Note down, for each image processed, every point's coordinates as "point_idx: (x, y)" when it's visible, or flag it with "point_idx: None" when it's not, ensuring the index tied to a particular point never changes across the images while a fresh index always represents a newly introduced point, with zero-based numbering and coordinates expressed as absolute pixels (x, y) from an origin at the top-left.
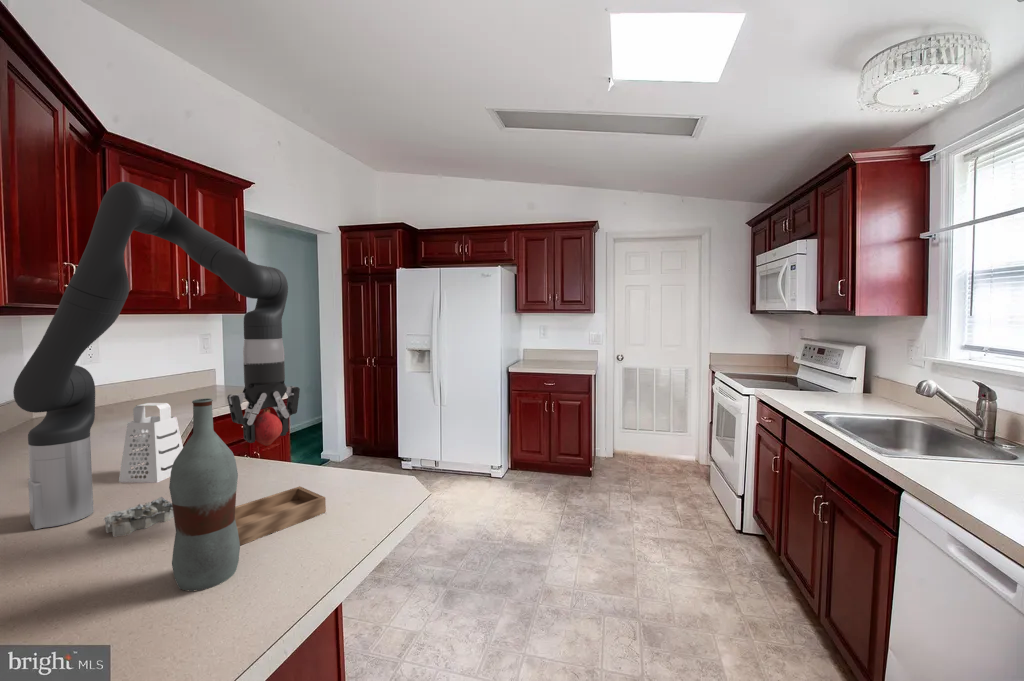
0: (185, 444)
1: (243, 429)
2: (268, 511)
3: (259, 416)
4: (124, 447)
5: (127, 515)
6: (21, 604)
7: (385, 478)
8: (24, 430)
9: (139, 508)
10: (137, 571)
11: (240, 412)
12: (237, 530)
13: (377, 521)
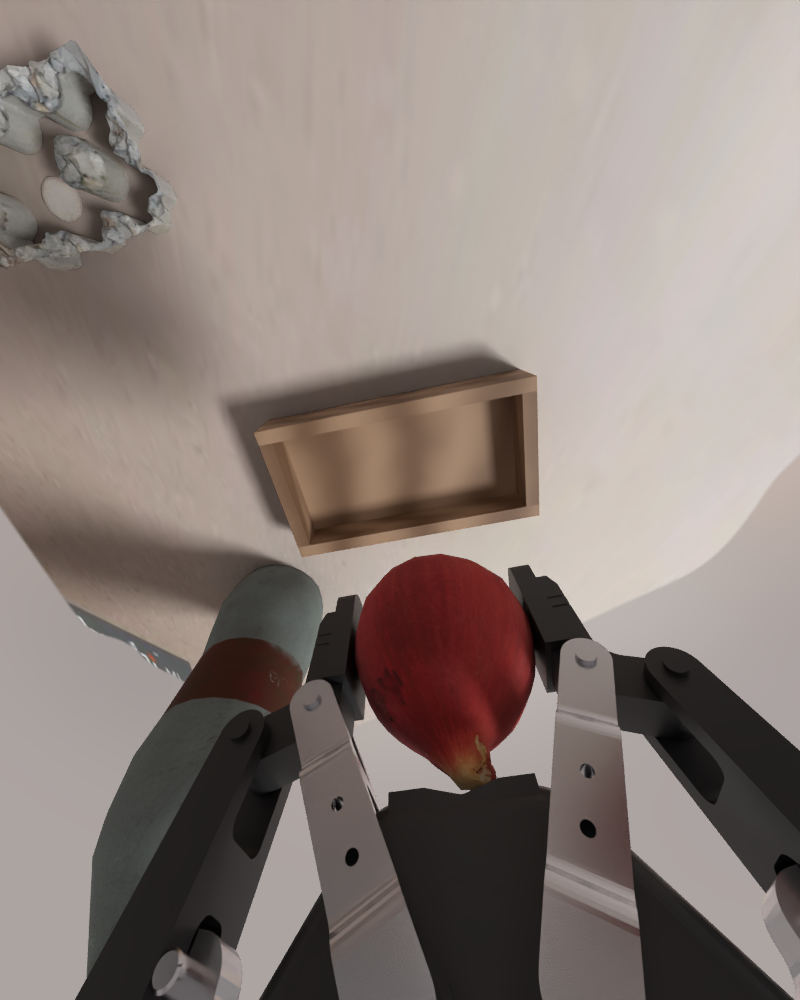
0: (89, 937)
1: (310, 663)
2: (418, 423)
3: (403, 741)
4: None
5: (8, 138)
6: (13, 505)
7: (795, 373)
8: None
9: (25, 100)
10: (168, 510)
11: (254, 860)
12: (312, 649)
13: (568, 596)
